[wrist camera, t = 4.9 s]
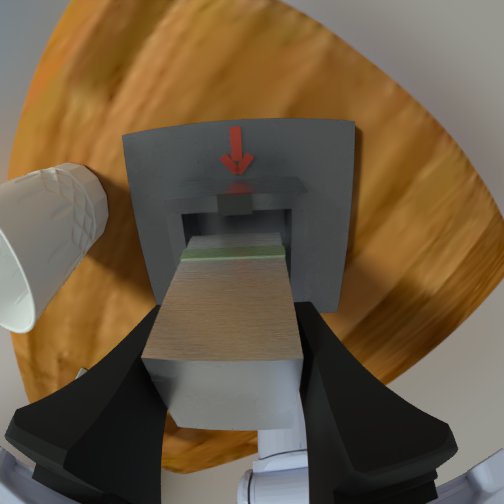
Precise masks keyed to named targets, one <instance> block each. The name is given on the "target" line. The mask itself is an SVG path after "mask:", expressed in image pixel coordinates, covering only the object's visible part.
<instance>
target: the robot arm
mask: <svg viewBox="0 0 504 504" xmlns="http://www.w3.org/2000/svg"><path fill="white" fill-rule="evenodd" d="M160 308H161V305H156V306H155V307H154V308H153V309H152V310H151V311H150V312H149V313H148V314H147V315H146V316H145V317H144V319H143V320H142V321H141V322H140V323H139V324H138V325H137V326H136V327H135V328H134V329H133V330H132V331H131V332H130V333H129V334H128V335H127V336H126V337H125V338H124V339H123V340H122V341H121V342H120V343H119V344H118V345H117V346H116V347H115V348H114V349H113V350H112V351H111V352H109V353H108V354H107V355H106V356H105V357H104V358H103V359H102V360H101V361H99V362H98V363H97V364H96V365H94V366H93V367H92V368H91V369H89V370H88V371H87V372H85V373H84V374H83V375H81V376H80V377H78V378H77V379H75V380H74V381H72V382H71V383H69V384H68V385H66V386H65V387H63V388H62V389H60V390H58V391H56V392H55V393H53V394H51V395H49V396H47V397H45V398H43V399H41V400H39V401H37V402H34V403H32V404H29V405H27V406H24V407H22V408H19V409H17V410H16V411H15V414H14V416H13V418H12V420H11V422H10V425H9V426H8V429H7V431H6V434H5V438H6V440H7V441H8V442H9V443H10V444H12V445H13V446H14V447H15V448H17V449H18V450H19V451H20V452H22V453H23V454H24V455H26V456H27V457H28V458H30V459H31V460H33V461H34V462H36V466H35V469H33V468H31V467H29V466H28V465H26V464H24V463H23V462H21V461H19V460H18V459H16V458H15V457H14V456H13V455H12V454H10V453H9V452H8V451H6V450H5V449H4V448H2V447H1V446H0V504H161V456H162V444H163V434H164V426H165V419H166V414H167V410H168V409H167V407H166V405H165V403H164V402H163V400H162V398H161V396H160V394H159V392H158V391H157V389H156V387H155V385H154V383H153V381H152V379H151V377H150V375H149V373H148V371H147V369H146V367H145V365H144V363H143V361H142V359H141V356H142V354H143V351H144V348H145V346H146V343H147V340H148V338H149V335H150V333H151V330H152V328H153V325H154V323H155V320H156V318H157V315H158V313H159V310H160ZM294 308H295V313H296V319H297V324H298V330H299V336H300V341H301V347H302V353H303V366H302V373H301V380H300V387H299V393H298V399H297V405H296V411H295V417H294V423H293V428H291V429H275V430H258V461H253V469H249V470H247V471H246V472H245V474H244V475H243V476H242V477H241V479H240V481H239V486H238V494H237V500H238V504H504V449H500V450H498V451H497V452H496V453H494V454H492V455H491V456H489V457H488V458H486V459H485V460H483V461H481V462H480V463H478V464H477V465H475V466H474V467H472V468H471V469H469V470H468V471H467V472H466V473H464V474H462V475H460V476H458V477H456V478H455V479H453V480H451V481H449V482H447V483H444V484H443V485H440V486H438V487H435V483H434V480H435V479H436V478H437V477H438V475H437V472H436V468H438V467H439V466H440V465H442V464H443V463H445V462H446V461H447V460H449V459H450V458H451V457H453V456H454V455H455V454H456V452H457V450H458V447H457V444H456V441H455V438H454V436H453V433H452V431H451V429H450V427H449V425H448V424H447V423H445V422H443V421H441V420H439V419H437V418H435V417H433V416H431V415H429V414H427V413H425V412H423V411H421V410H420V409H418V408H416V407H415V406H413V405H412V404H410V403H408V402H407V401H405V400H404V399H403V398H401V397H400V396H398V395H397V394H396V393H394V392H393V391H391V390H390V389H389V388H387V387H386V386H385V385H384V384H383V383H381V382H380V381H379V380H378V379H377V378H375V377H374V376H373V375H372V374H371V373H370V372H369V371H368V370H367V369H366V368H365V367H364V366H362V365H361V364H360V363H359V361H358V360H357V359H356V358H355V357H354V356H353V355H352V354H351V353H350V352H349V351H348V350H347V349H346V347H345V346H344V345H343V344H342V343H341V342H340V340H339V339H338V338H337V337H336V335H335V334H334V333H333V332H332V330H331V329H330V328H329V326H328V325H327V324H326V322H325V321H324V320H323V318H322V317H321V315H320V314H319V312H318V311H317V309H316V308H315V306H314V305H313V303H312V302H310V301H306V302H294Z"/></svg>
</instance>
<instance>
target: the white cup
mask: <svg viewBox="0 0 504 504" xmlns="http://www.w3.org/2000/svg"><path fill="white" fill-rule="evenodd" d="M108 216H109V213H108V204H107V196H106V193H105V191H104V189H103V187H102V185H101V183H100V181H99V179H98V177H96V176H95V175H94V174H93V173H92V172H91V171H89V170H88V169H87V168H86V167H85V166H84V165H79V164H75V163H70V162H67V163H63V164H60V165H57V166H54V167H52V168H48V169H43V170H38V171H34V172H31V173H28V174H25V175H23V176H19V177H16V178H13V179H11V180H8V181H6V182H4V183H1V184H0V325H1V326H2V327H4V328H6V329H8V330H10V331H12V332H15V333H27V332H29V331H30V330H31V329H32V328H33V327H34V325H35V324H36V322H37V321H38V319H39V318H40V316H41V315H42V313H43V312H44V310H45V309H46V308H47V306H48V305H49V303H50V302H51V301H52V299H53V298H54V297H55V295H56V294H57V293H58V291H59V290H60V289H61V287H62V286H63V285H64V284H65V282H66V281H67V280H68V278H69V277H70V275H71V274H72V272H73V271H74V270H75V269H76V267H77V266H78V265H79V263H80V262H81V261H82V259H83V258H84V257H85V255H86V253H87V251H88V250H89V249H90V247H91V246H92V245H93V244H94V243H95V242H96V240H97V239H98V238H99V237H100V236H101V235H102V234H103V233H104V230H105V226H106V223H107V220H108Z"/></svg>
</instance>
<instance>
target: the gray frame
mask: <svg viewBox="0 0 504 504" xmlns="http://www.w3.org/2000/svg"><path fill="white" fill-rule="evenodd" d="M122 140H123V148H124V156H125V163H126V170H127V176H128V183H129V188H130V194H131V200H132V205H133V210H134V215H135V220H136V225H137V230H138V234H139V239H140V243H141V247H142V251H143V256H144V260H145V264H146V268H147V271H148V275H149V279H150V283H151V286H152V290H153V293H154V297H155V300H156V303H157V305H162V303H163V300H164V298H165V296H166V293H167V291H168V289H169V286H170V284H171V282H172V279H173V277H174V275H175V272H176V270H177V268H178V266H179V263H180V257H181V255H182V253H183V250H184V249H186V248H187V246H188V243H189V241H190V239H191V237H192V236H206V235H228V234H252V233H280V237H281V241H282V245H284V249H285V253H286V266H287V271H288V276H289V282H290V287H291V292H292V297H293V303H294V302H306V301H310V302H312V303H313V305H314V306H315V308H316V309H317V311H318V312H319V313H332V312H337V310H338V305H339V299H340V293H341V286H342V280H343V273H344V266H345V259H346V251H347V243H348V234H349V224H350V214H351V202H352V189H353V172H354V147H355V121H346V120H331V119H306V118H266V119H241V120H226V121H214V122H203V123H194V124H186V125H178V126H171V127H164V128H158V129H152V130H146V131H141V132H135V133H130V134H125V135H122Z"/></svg>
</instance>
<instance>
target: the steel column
mask: <svg viewBox="0 0 504 504" xmlns="http://www.w3.org/2000/svg"><path fill="white" fill-rule="evenodd" d="M141 359H142V361H143V363H144V365H145V367H146V369H147V371H148V373H149V375H150V377H151V379H152V381H153V383H154V385H155V387H156V389H157V391H158V392H159V394H160V396H161V398H162V400H163V402H164V403H165V405H166V407H167V409H168V410H169V412H170V414H171V416H172V417H173V419H174V421H175V422H176V424H177V426H178V427H185V428H197V429H213V430H275V429H291V428H293V423H294V417H295V411H296V405H297V399H298V393H299V387H300V380H301V373H302V366H303V353H302V347H301V341H300V336H299V330H298V324H297V319H296V313H295V308H294V303H293V297H292V292H291V287H290V282H289V276H288V271H287V266H286V253H285V249H284V245H282V241H281V237H280V233H252V234H228V235H206V236H192V237H191V239H190V241H189V243H188V246H187V248H186V249H184V250H183V253H182V255H181V257H180V263H179V266H178V268H177V270H176V272H175V275H174V277H173V279H172V282H171V284H170V286H169V289H168V291H167V293H166V296H165V298H164V300H163V303H162V305H161V308H160V310H159V313H158V315H157V318H156V320H155V323H154V325H153V328H152V330H151V333H150V335H149V338H148V340H147V343H146V346H145V348H144V351H143V354H142V356H141Z"/></svg>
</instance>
